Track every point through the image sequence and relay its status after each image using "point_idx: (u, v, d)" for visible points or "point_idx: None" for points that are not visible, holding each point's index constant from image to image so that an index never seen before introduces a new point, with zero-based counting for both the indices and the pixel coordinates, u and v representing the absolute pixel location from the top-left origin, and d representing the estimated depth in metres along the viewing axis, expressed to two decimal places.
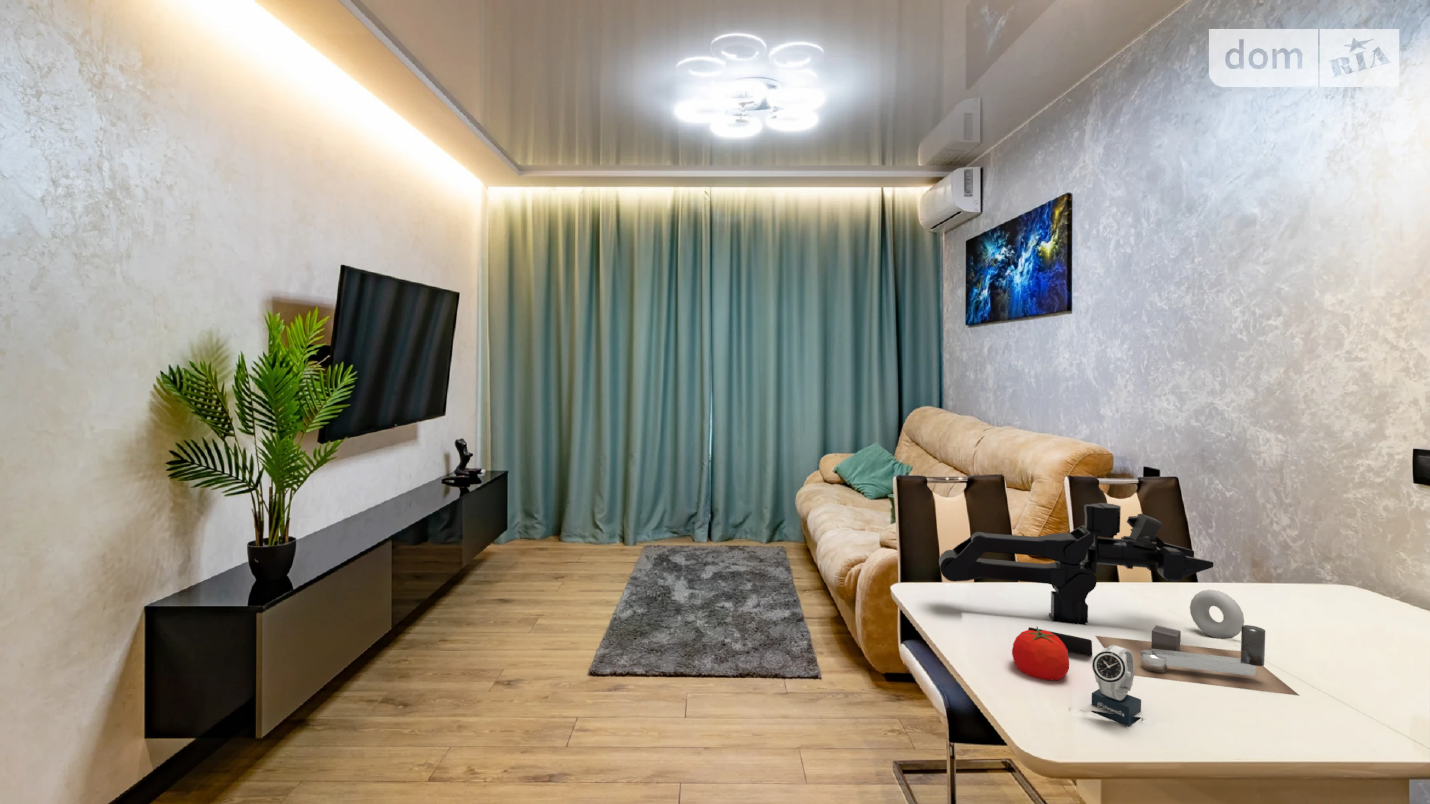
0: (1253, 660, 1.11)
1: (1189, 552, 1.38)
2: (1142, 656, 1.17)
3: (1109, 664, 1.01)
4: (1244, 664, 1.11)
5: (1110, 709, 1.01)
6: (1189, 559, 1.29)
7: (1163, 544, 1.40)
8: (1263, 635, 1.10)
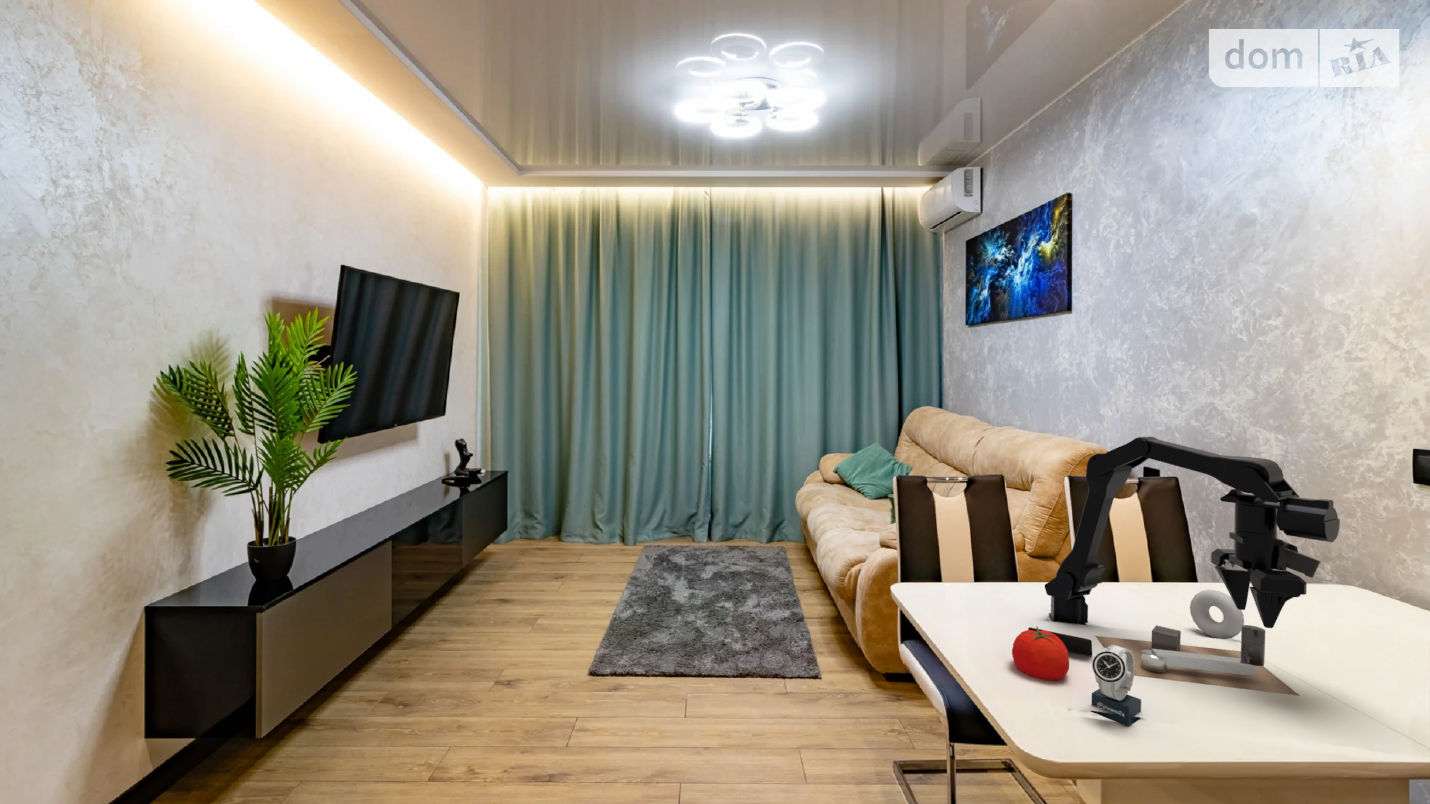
0: (1253, 660, 1.11)
1: (1242, 605, 1.16)
2: (1142, 656, 1.17)
3: (1109, 664, 1.01)
4: (1244, 664, 1.11)
5: (1110, 709, 1.01)
6: (1281, 603, 1.05)
7: (1249, 579, 1.16)
8: (1263, 635, 1.10)
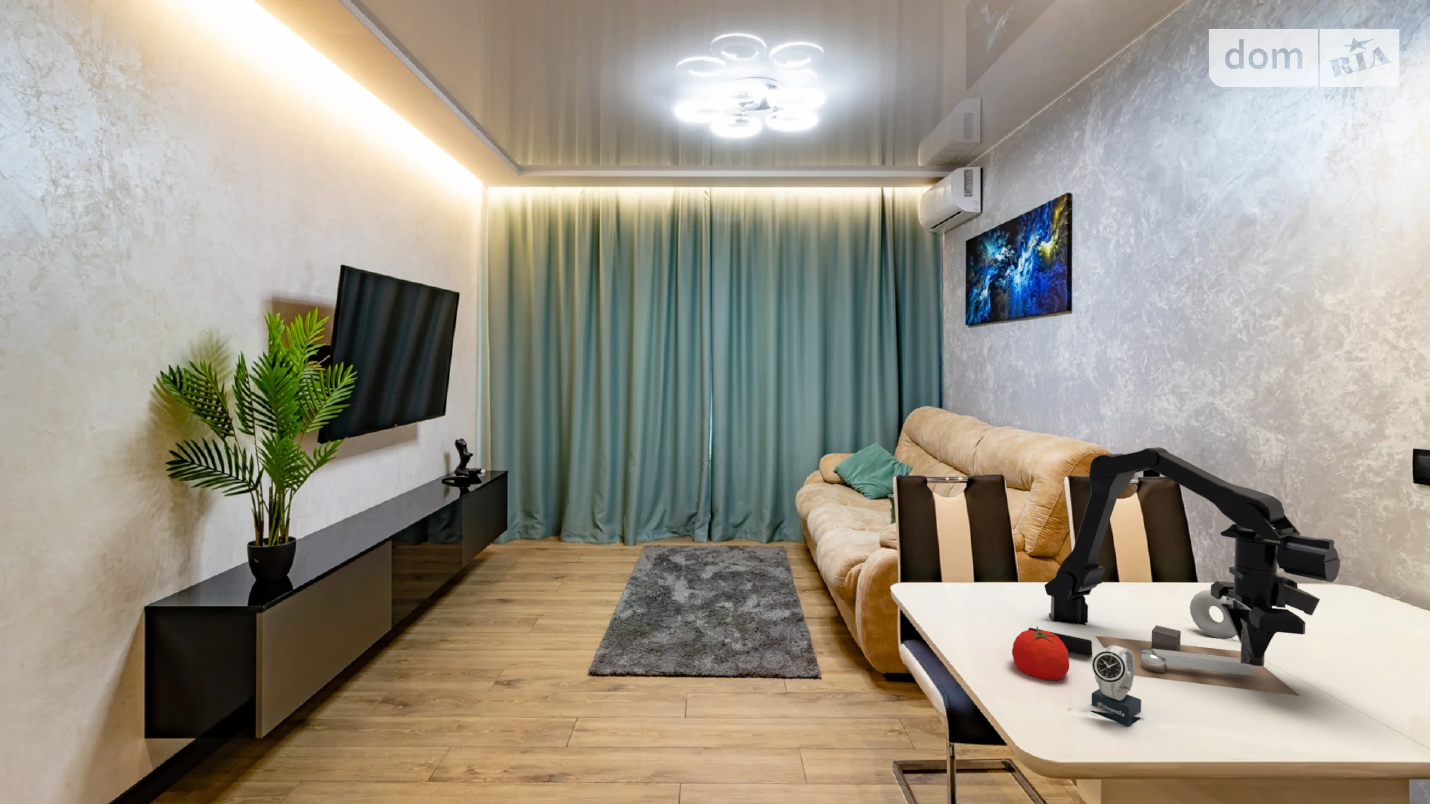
0: (1253, 660, 1.11)
1: None
2: (1142, 656, 1.17)
3: (1109, 664, 1.01)
4: (1244, 664, 1.11)
5: (1110, 709, 1.01)
6: (1270, 635, 1.08)
7: None
8: None
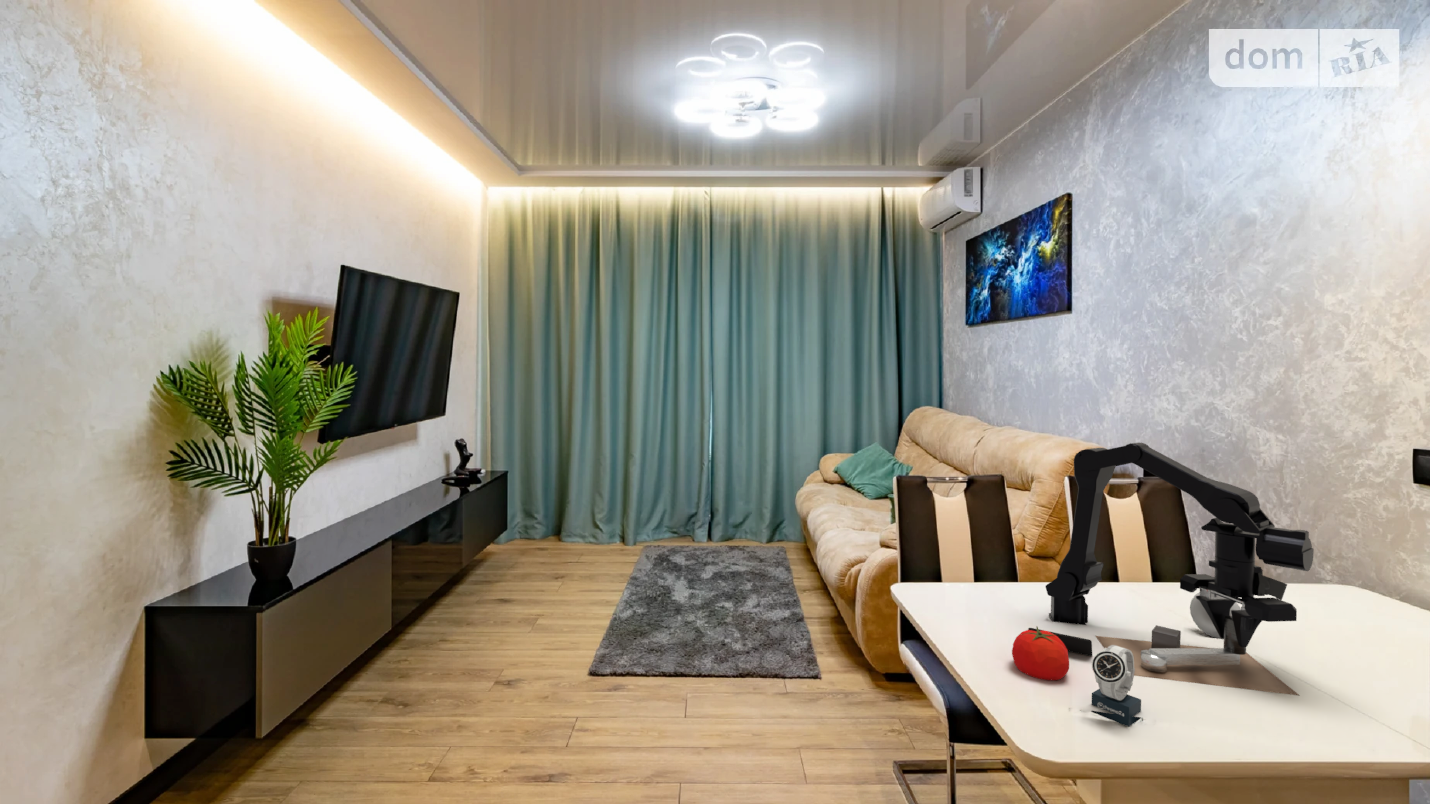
0: (1239, 649, 1.15)
1: None
2: (1144, 658, 1.16)
3: (1109, 664, 1.01)
4: (1231, 654, 1.15)
5: (1110, 709, 1.01)
6: (1256, 624, 1.13)
7: (1229, 607, 1.19)
8: None
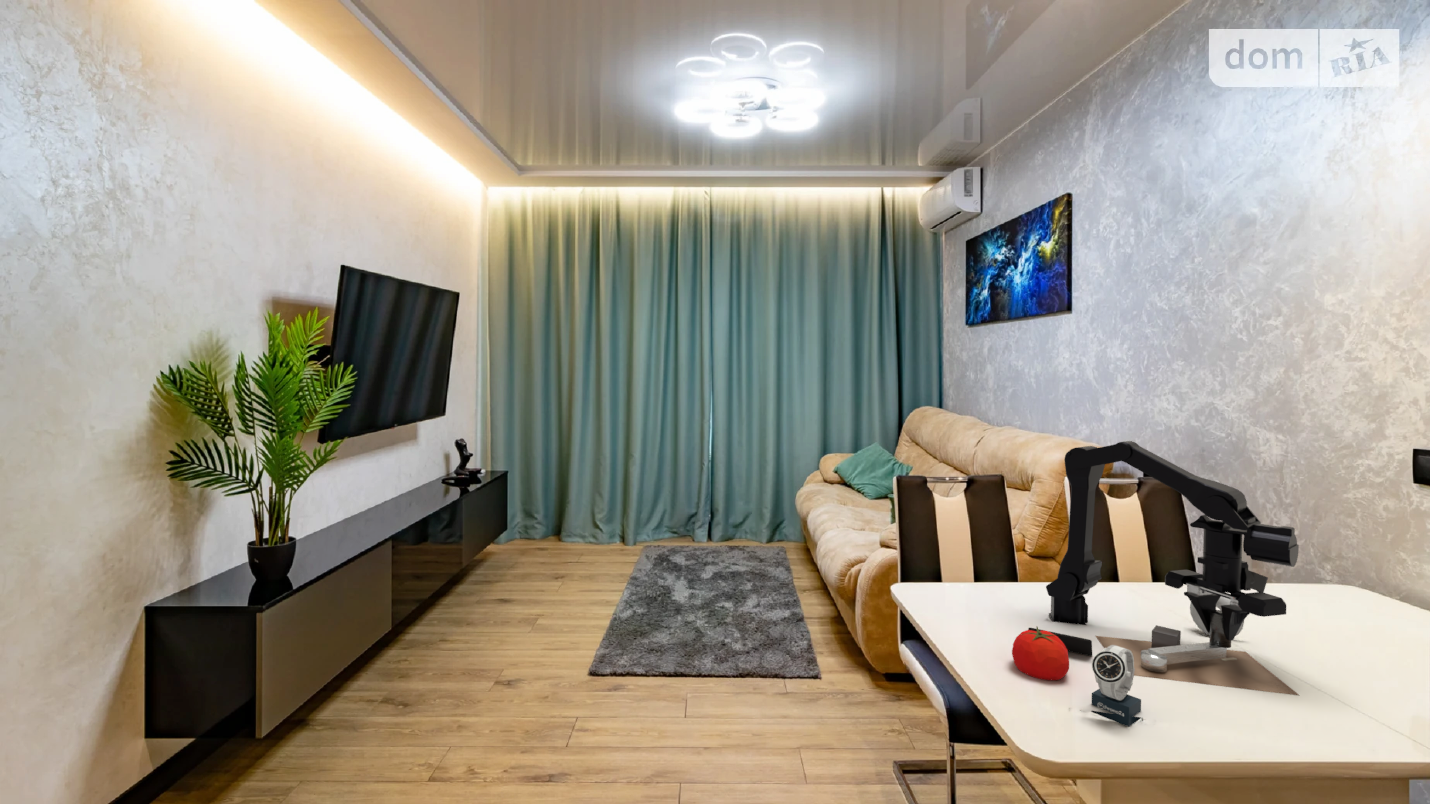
0: (1226, 643, 1.18)
1: None
2: (1146, 659, 1.16)
3: (1109, 664, 1.01)
4: (1219, 648, 1.18)
5: (1110, 709, 1.01)
6: (1243, 617, 1.16)
7: (1215, 602, 1.22)
8: None
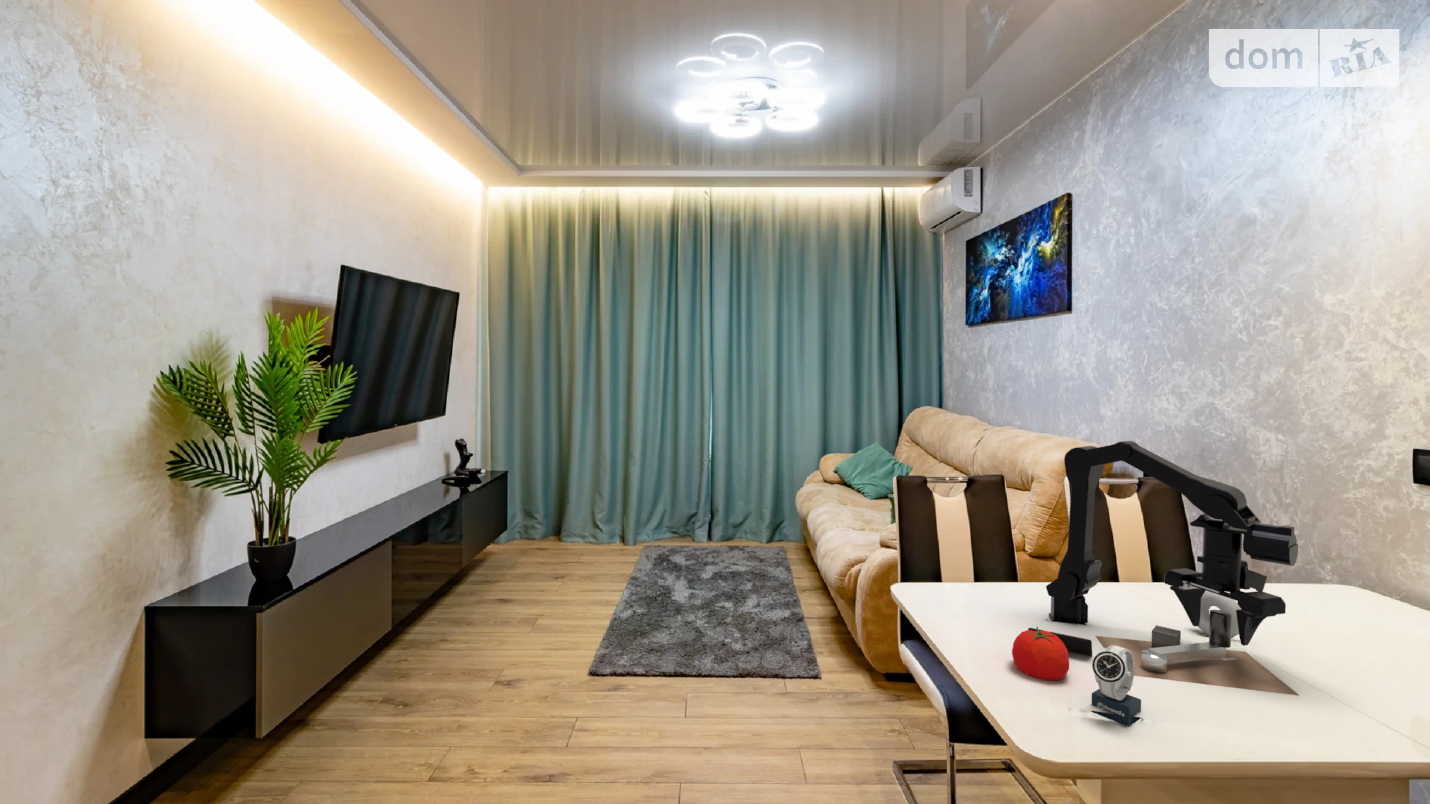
0: (1225, 643, 1.18)
1: (1197, 621, 1.24)
2: (1147, 659, 1.16)
3: (1109, 664, 1.01)
4: (1218, 648, 1.18)
5: (1110, 709, 1.01)
6: (1258, 622, 1.14)
7: (1200, 596, 1.24)
8: (1231, 618, 1.18)
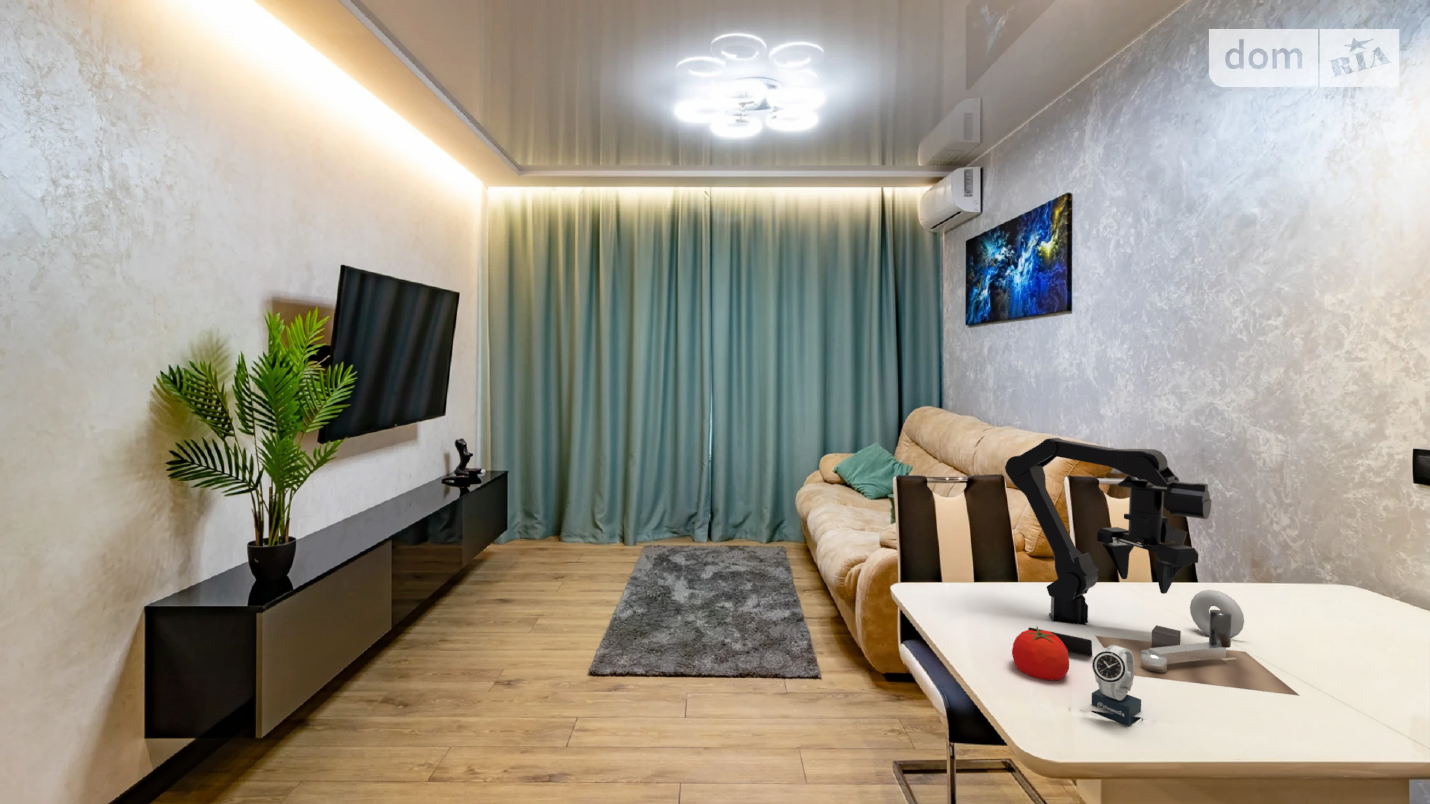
0: (1225, 643, 1.18)
1: (1125, 575, 1.35)
2: (1147, 659, 1.16)
3: (1109, 664, 1.01)
4: (1218, 648, 1.18)
5: (1110, 709, 1.01)
6: (1175, 572, 1.24)
7: (1128, 552, 1.35)
8: (1231, 618, 1.18)
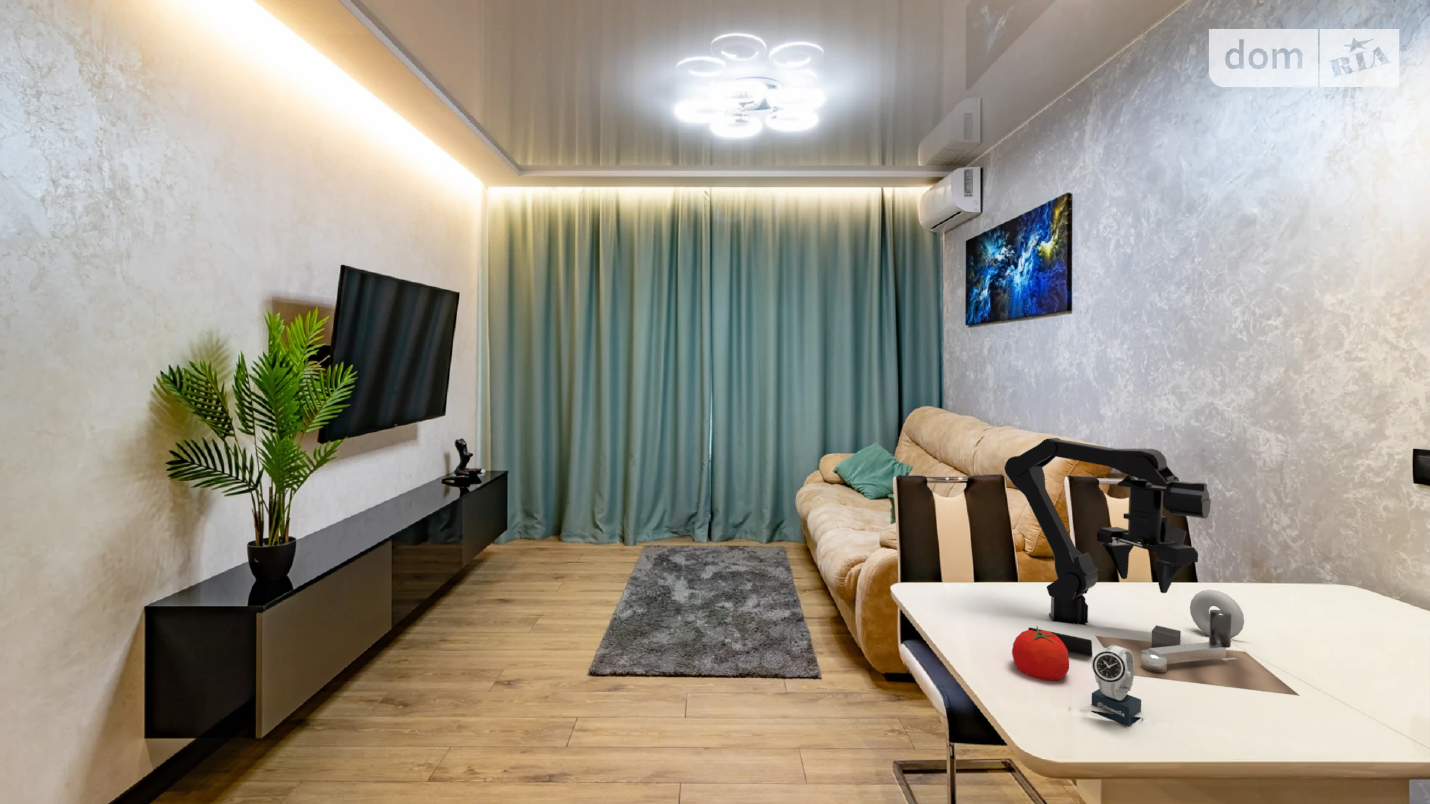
0: (1225, 643, 1.18)
1: (1125, 574, 1.35)
2: (1147, 659, 1.16)
3: (1109, 664, 1.01)
4: (1218, 648, 1.18)
5: (1110, 709, 1.01)
6: (1175, 571, 1.24)
7: (1128, 551, 1.35)
8: (1231, 618, 1.18)
